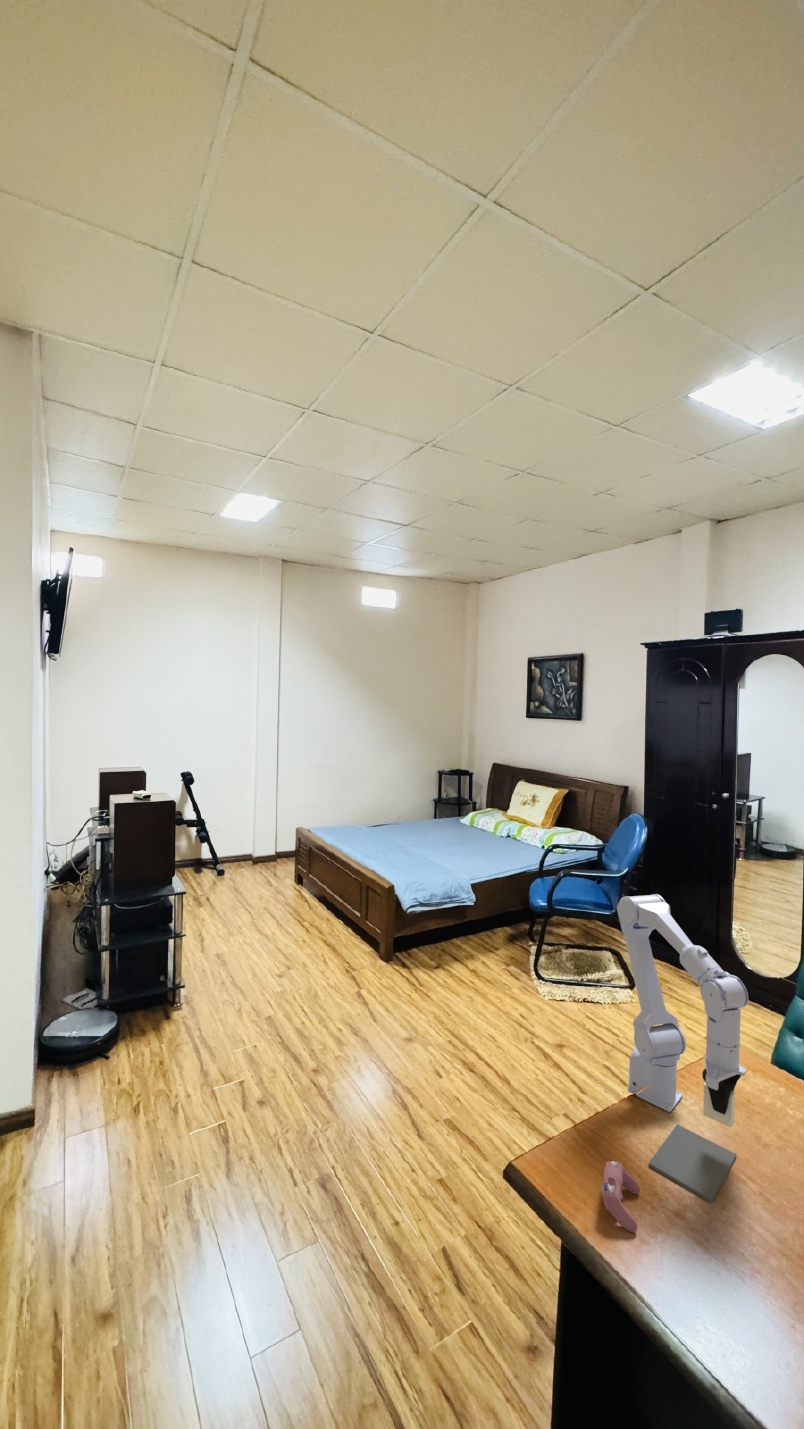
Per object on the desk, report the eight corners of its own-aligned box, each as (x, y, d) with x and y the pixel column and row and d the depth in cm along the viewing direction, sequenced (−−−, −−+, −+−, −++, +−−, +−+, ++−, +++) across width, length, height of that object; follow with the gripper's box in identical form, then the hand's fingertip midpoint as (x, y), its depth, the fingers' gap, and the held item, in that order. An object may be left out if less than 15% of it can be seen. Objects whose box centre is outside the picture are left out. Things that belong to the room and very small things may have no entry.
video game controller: (617, 1192, 103) (600, 1152, 104) (642, 1190, 101) (624, 1149, 102) (612, 1237, 94) (594, 1192, 95) (639, 1235, 92) (620, 1189, 93)
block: (703, 1114, 112) (703, 1084, 112) (706, 1110, 113) (706, 1080, 113) (731, 1127, 108) (731, 1096, 108) (734, 1122, 110) (734, 1091, 110)
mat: (648, 1166, 107) (648, 1162, 107) (677, 1126, 117) (677, 1123, 117) (711, 1202, 99) (711, 1199, 99) (736, 1157, 110) (736, 1154, 110)
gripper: (736, 1064, 103) (734, 1138, 103) (755, 1033, 113) (753, 1100, 113) (694, 1047, 107) (692, 1118, 107) (716, 1019, 118) (715, 1084, 118)
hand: (721, 1108), depth 111 cm, fingers closed on block, 2 cm apart
